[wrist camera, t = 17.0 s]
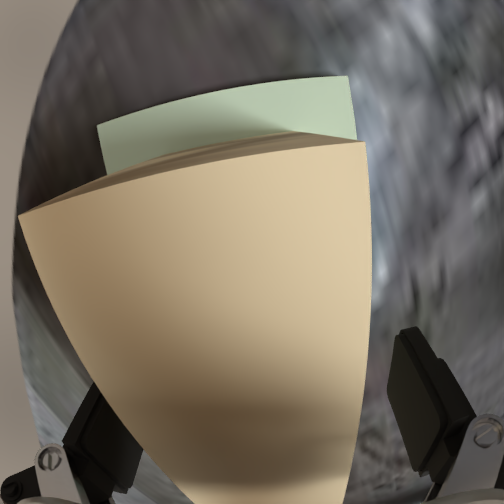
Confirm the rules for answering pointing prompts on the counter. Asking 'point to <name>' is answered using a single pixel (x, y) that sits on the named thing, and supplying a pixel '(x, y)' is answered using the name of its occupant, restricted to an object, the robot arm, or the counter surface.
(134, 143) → the mat
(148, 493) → the counter surface
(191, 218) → the wooden block
